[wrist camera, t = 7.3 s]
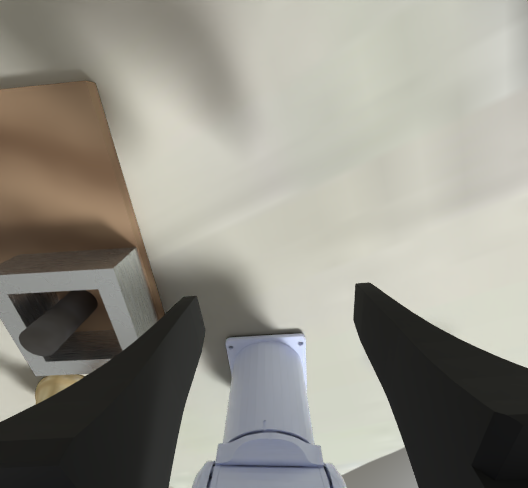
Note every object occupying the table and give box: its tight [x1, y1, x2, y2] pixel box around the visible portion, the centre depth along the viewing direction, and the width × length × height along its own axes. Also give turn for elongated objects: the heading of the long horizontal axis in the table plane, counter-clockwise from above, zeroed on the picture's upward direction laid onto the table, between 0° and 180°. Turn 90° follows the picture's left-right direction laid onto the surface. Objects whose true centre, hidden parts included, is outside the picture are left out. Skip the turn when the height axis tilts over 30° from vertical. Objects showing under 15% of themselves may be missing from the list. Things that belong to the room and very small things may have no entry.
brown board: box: [0, 81, 165, 356], centre depth 19 cm, size 22×13×6 cm, turn 5°
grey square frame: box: [0, 247, 158, 376], centre depth 22 cm, size 10×10×4 cm
